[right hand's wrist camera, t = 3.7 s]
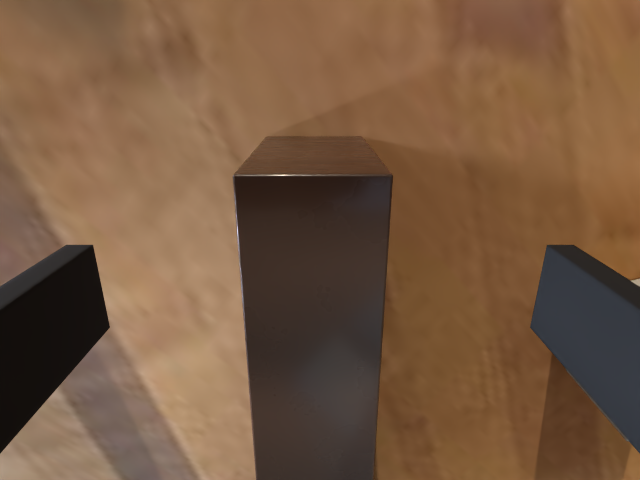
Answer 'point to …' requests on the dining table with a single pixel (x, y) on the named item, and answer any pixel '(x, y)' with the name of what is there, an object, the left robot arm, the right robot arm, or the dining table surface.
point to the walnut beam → (313, 302)
